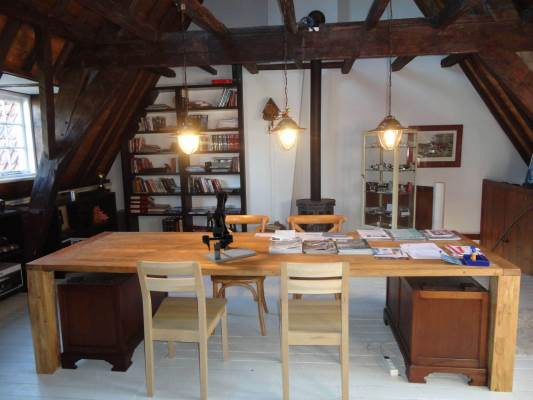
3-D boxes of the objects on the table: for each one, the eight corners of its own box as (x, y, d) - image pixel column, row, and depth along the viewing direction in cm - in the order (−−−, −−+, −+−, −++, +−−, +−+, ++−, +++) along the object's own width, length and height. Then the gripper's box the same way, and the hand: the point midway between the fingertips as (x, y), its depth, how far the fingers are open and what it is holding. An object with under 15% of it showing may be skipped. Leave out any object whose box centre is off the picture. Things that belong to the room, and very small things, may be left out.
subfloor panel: (204, 256, 247) (204, 254, 247) (244, 249, 263) (244, 247, 262) (215, 262, 234) (215, 260, 234) (256, 254, 249) (256, 252, 249)
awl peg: (213, 258, 237) (212, 242, 236) (219, 257, 239) (218, 241, 238) (216, 260, 234) (215, 244, 232) (222, 259, 236) (221, 243, 235)
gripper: (201, 222, 238) (199, 244, 228) (232, 221, 238) (231, 243, 228) (204, 232, 246) (202, 253, 237) (233, 231, 246) (232, 253, 237)
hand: (217, 250), depth 235 cm, fingers open, 9 cm apart
